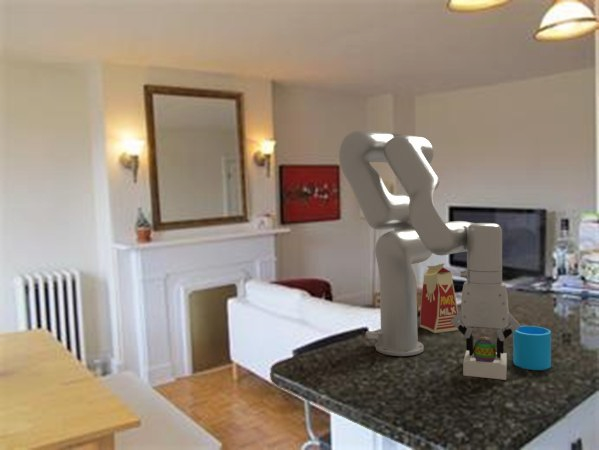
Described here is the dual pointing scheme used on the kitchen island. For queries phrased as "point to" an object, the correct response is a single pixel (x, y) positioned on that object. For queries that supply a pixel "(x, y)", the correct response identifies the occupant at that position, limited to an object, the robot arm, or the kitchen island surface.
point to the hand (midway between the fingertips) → (484, 354)
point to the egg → (484, 350)
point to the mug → (532, 347)
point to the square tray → (485, 367)
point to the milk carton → (438, 300)
